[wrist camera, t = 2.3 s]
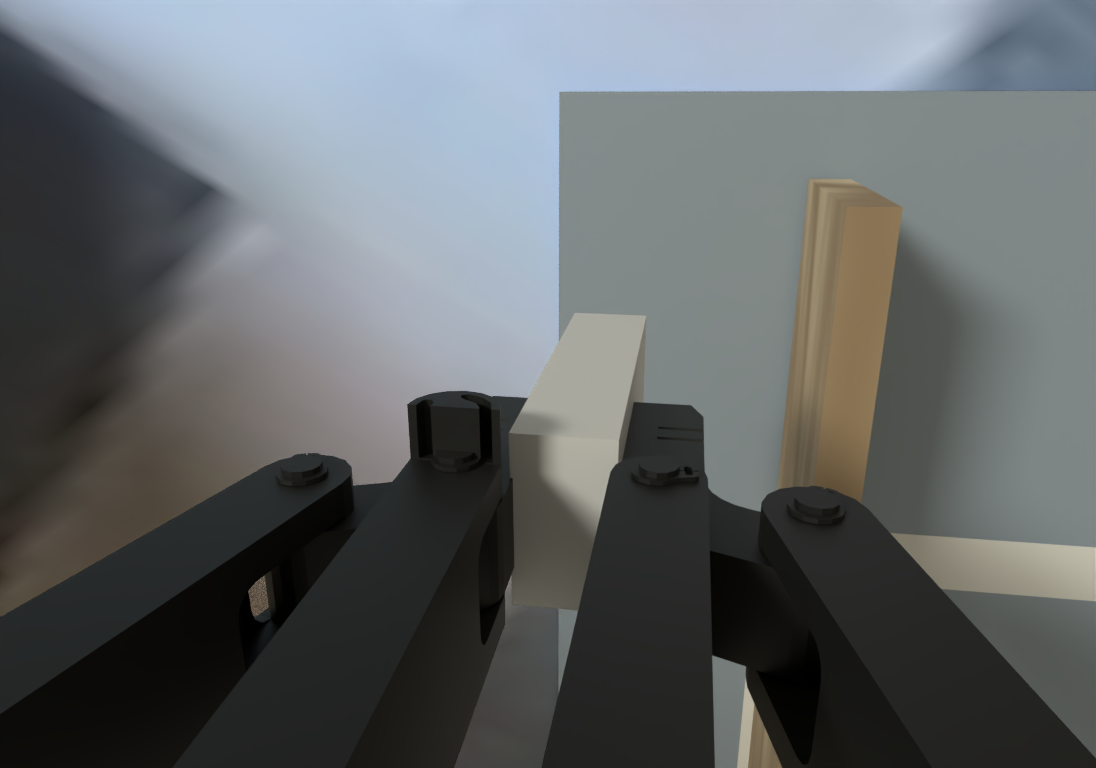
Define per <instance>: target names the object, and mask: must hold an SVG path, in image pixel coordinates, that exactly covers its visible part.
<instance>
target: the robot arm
mask: <svg viewBox="0 0 1096 768" xmlns="http://www.w3.org/2000/svg"><path fill="white" fill-rule="evenodd" d="M645 341H646V316H642V315H618V314H593V313H574V315H573V317H572V319H571V321H570V322H569V324H568V326H567V328H566V330H565V332H564V333H563V335H562V337H561V339H560V341H559V343H558V344H557V346H556V348H555V350H554V352H553V353H552V355H551V357H550V359H549V361H548V363H547V364H546V366H545V368H544V370H543V372H542V373H541V375H540V377H539V379H538V381H537V383H536V384H535V386H534V388H533V390H532V392H531V394H530V395H529V397H528V398H518V397H501V396H493V397H491V396H488V395H485V394H482V393H476V392H469V391H447V392H440V393H433V394H429V395H426V396H423V397H419V398H416V399H415V400H413V401H412V402H410V403H409V404H407V405H408V421H409V437H410V453H411V459H410V460H409V461H408V463H407V464H406V465H405V467H404V468H403V469H402V471H401V472H400V473H399V474H398V476H397V477H396V478H395V480H394V481H393V482H388V483H381V484H368V485H356V486H353V480H352V469H351V466H350V465H349V464H348V463H347V462H346V461H345V460H342V459H339V458H337V457H334V456H325V455H320V454H318V453H308V455H306V454H297V455H294V456H293V457H291V458H287V459H283V460H279V461H277V462H274V463H272V464H270V465H267V466H265V467H263V468H261V469H260V470H258V471H256V472H254V473H253V474H251V475H249V476H247V477H245V478H244V479H242V480H240V481H238V482H237V483H235V484H233V485H231V486H230V487H228V488H226V489H224V490H223V491H221V492H219V493H217V494H216V495H214V496H212V497H210V498H209V499H207V500H205V501H203V502H202V503H200V504H198V505H196V506H195V507H193V508H191V509H189V510H188V511H186V512H184V513H182V514H181V515H179V516H177V517H175V518H174V519H172V520H170V521H168V522H167V523H165V524H163V525H161V526H160V527H158V528H156V529H154V530H153V531H151V532H149V533H147V534H146V535H144V536H142V537H140V538H139V539H137V540H135V541H133V542H131V543H130V544H128V545H126V546H124V547H123V548H121V549H119V550H117V551H116V552H114V553H112V554H110V555H109V556H107V557H105V558H103V559H102V560H100V561H98V562H96V563H95V564H93V565H91V566H89V567H88V568H86V569H84V570H82V571H81V572H79V573H77V574H75V575H74V576H72V577H70V578H68V579H67V580H65V581H63V582H61V583H60V584H58V585H56V586H54V587H53V588H51V589H49V590H47V591H46V592H44V593H42V594H40V595H39V596H37V597H35V598H33V599H32V600H30V601H28V602H26V603H25V604H23V605H21V606H19V607H18V608H16V609H14V610H12V611H10V612H9V613H7V614H5V615H3V616H2V617H0V768H454V766H455V763H456V760H457V757H458V754H459V751H460V749H461V746H462V743H463V740H464V737H465V735H466V732H467V729H468V726H469V723H470V720H471V718H472V715H473V712H474V709H475V706H476V704H477V701H478V698H479V695H480V692H481V690H482V687H483V684H484V681H485V678H486V675H487V673H488V670H489V667H490V664H491V661H492V659H493V656H494V653H495V650H496V647H497V644H498V642H499V639H500V636H501V633H502V630H503V628H504V625H505V590H506V587H507V585H508V582H509V579H510V577H511V574H512V604H515V605H525V606H535V607H545V608H556V609H566V610H576V611H578V613H577V617H576V622H575V626H574V630H573V635H572V639H571V643H570V648H569V652H568V656H567V660H566V665H565V669H564V673H563V678H562V682H561V686H560V691H559V695H558V699H557V703H556V708H555V712H554V716H553V721H552V725H551V729H550V734H549V738H548V742H547V746H546V751H545V755H544V759H543V764H542V768H715V749H714V707H713V665H712V656H715V657H718V658H721V659H724V660H727V661H731V662H734V663H737V664H740V665H743V666H746V673H745V676H746V683H747V688H748V690H749V693H750V695H751V697H752V699H753V702H754V704H755V706H756V709H757V711H758V713H759V715H760V718H761V720H762V722H763V725H764V727H765V729H766V732H767V734H768V736H769V738H770V741H771V743H772V745H773V748H774V750H775V752H776V754H777V757H778V759H779V761H780V764H781V766H782V768H1096V758H1095V757H1094V756H1093V755H1092V753H1091V752H1090V751H1089V750H1088V749H1087V748H1086V747H1085V746H1084V745H1083V744H1082V743H1081V741H1080V740H1079V739H1078V738H1077V737H1076V736H1075V735H1074V734H1073V733H1072V732H1071V730H1070V729H1069V728H1068V727H1067V726H1066V725H1065V724H1064V723H1063V722H1062V721H1061V720H1060V718H1059V717H1058V716H1057V715H1056V714H1055V713H1054V712H1053V711H1052V710H1051V709H1050V707H1049V706H1048V705H1047V704H1046V703H1045V702H1044V701H1043V700H1042V699H1041V698H1040V697H1039V695H1038V694H1037V693H1036V692H1035V691H1034V690H1033V689H1032V688H1031V687H1030V686H1029V684H1028V683H1027V682H1026V681H1025V680H1024V679H1023V678H1022V677H1021V676H1020V675H1019V674H1018V672H1017V671H1016V670H1015V669H1014V668H1013V667H1012V666H1011V665H1010V664H1009V663H1008V661H1007V660H1006V659H1005V658H1004V657H1003V656H1002V655H1001V654H1000V653H999V652H998V651H997V649H996V648H995V647H994V646H993V645H992V644H991V643H990V642H989V641H988V640H987V638H986V637H985V636H984V635H983V634H982V633H981V632H980V631H979V630H978V629H977V628H976V626H975V625H974V624H973V623H972V622H971V621H970V620H969V619H968V618H967V617H966V616H965V614H964V613H963V612H962V611H961V610H960V609H959V608H958V607H957V606H956V605H955V603H954V602H953V601H952V600H951V599H950V598H949V597H948V596H947V595H946V594H945V593H944V591H943V590H942V589H941V588H940V587H939V586H938V585H937V584H936V583H935V582H934V580H933V579H932V578H931V577H930V576H929V575H928V574H927V573H926V572H925V571H924V570H923V568H922V567H921V566H920V565H919V564H918V563H917V562H916V561H915V560H914V559H913V557H912V556H911V555H910V554H909V553H908V552H907V551H906V550H905V549H904V548H903V547H902V545H901V544H900V543H899V542H898V541H897V540H896V539H895V538H894V537H893V536H892V534H891V533H890V532H889V531H888V530H887V529H886V528H885V527H884V526H883V525H882V524H881V522H880V521H879V520H878V519H877V518H876V517H875V516H874V515H873V514H872V513H871V512H870V510H869V509H868V508H866V507H865V506H864V505H862V504H861V503H860V502H858V501H857V500H856V499H854V498H851V497H849V496H846V495H844V494H841V493H839V492H838V491H836V490H833V489H829V488H826V489H823V488H824V487H819V486H809V487H798V486H797V487H790V488H782V489H778V490H776V491H774V492H771V493H769V494H767V495H766V497H765V498H764V500H763V501H762V503H761V512H760V511H756V510H751V509H747V508H744V507H741V506H737V505H734V504H732V503H729V502H727V501H725V500H723V499H721V498H719V497H718V496H717V495H715V494H714V493H712V492H711V490H710V489H709V488H708V478H707V476H706V473H705V464H704V418H703V416H702V415H701V414H700V413H699V412H698V411H697V410H696V409H695V408H694V407H692V406H691V405H678V404H661V403H643V392H644V367H645ZM264 575H265V581H266V589H267V596H268V604H269V608H267V609H266V610H265V611H264V612H262V613H261V614H260V615H258V616H256V617H254V616H253V614H252V612H251V606H250V599H249V592H248V590H249V589H250V588H251V587H252V586H253V584H254V583H255V582H256V581H257V580H259V579H260V578H261V577H263V576H264Z"/></svg>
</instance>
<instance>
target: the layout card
mask: <svg viewBox="0 0 1096 768" xmlns="http://www.w3.org/2000/svg"><path fill="white" fill-rule="evenodd" d="M809 179H852V180H854V181H856V182H857V183H859V184H861V185H863V186H865V187H867V188H868V189H870V190H872V191H874V192H876V193H877V194H879V195H881V196H883V197H885V198H887V199H888V200H890V201H892V202H894V203H896V204H898V205H899V206H901V207H903V210H902V217H901V224H900V231H899V238H898V245H897V252H896V259H895V267H894V274H893V281H892V288H891V295H890V302H889V309H888V316H887V323H886V330H885V337H884V345H883V352H882V359H881V366H880V373H879V380H878V387H877V394H876V401H875V408H874V416H873V423H872V430H871V437H870V444H869V451H868V458H867V465H866V472H865V479H864V486H863V494H862V501H861V504H862V505H864V506H865V507H866V508H868V509H869V510H870V512H871V513H872V514H873V515H874V516H875V517H876V518H877V519H878V520H879V521H880V522H881V524H882V525H883V526H884V527H885V528H886V529H887V530H888V531H889V532H890V533H891V534H892V536H893V537H894V538H895V539H896V540H897V541H898V542H899V543H900V544H901V545H902V547H903V548H904V549H905V550H906V551H907V552H908V553H909V554H910V555H911V556H912V557H913V559H914V560H915V561H916V562H917V563H918V564H919V565H920V566H921V567H922V568H923V570H924V571H925V572H926V573H927V574H928V575H929V576H930V577H931V578H932V579H933V580H934V582H935V583H936V584H937V585H938V586H939V587H940V588H941V589H942V590H943V591H944V593H945V594H946V595H947V596H948V597H949V598H950V599H951V600H952V601H953V602H954V603H955V605H956V606H957V607H958V608H959V609H960V610H961V611H962V612H963V613H964V614H965V616H966V617H967V618H968V619H969V620H970V621H971V622H972V623H973V624H974V625H975V626H976V628H977V629H978V630H979V631H980V632H981V633H982V634H983V635H984V636H985V637H986V638H987V640H988V641H989V642H990V643H991V644H992V645H993V646H994V647H995V648H996V649H997V651H998V652H999V653H1000V654H1001V655H1002V656H1003V657H1004V658H1005V659H1006V660H1007V661H1008V663H1009V664H1010V665H1011V666H1012V667H1013V668H1014V669H1015V670H1016V671H1017V672H1018V674H1019V675H1020V676H1021V677H1022V678H1023V679H1024V680H1025V681H1026V682H1027V683H1028V684H1029V686H1030V687H1031V688H1032V689H1033V690H1034V691H1035V692H1036V693H1037V694H1038V695H1039V697H1040V698H1041V699H1042V700H1043V701H1044V702H1045V703H1046V704H1047V705H1048V706H1049V707H1050V709H1051V710H1052V711H1053V712H1054V713H1055V714H1056V715H1057V716H1058V717H1059V718H1060V720H1061V721H1062V722H1063V723H1064V724H1065V725H1066V726H1067V727H1068V728H1069V729H1070V730H1071V732H1072V733H1073V734H1074V735H1075V736H1076V737H1077V738H1078V739H1079V740H1080V741H1081V743H1082V744H1083V745H1084V746H1085V747H1086V748H1087V749H1088V750H1089V751H1090V752H1091V753H1092V755H1093V756H1094V757H1095V758H1096V91H798V92H560V120H559V341H560V339H561V337H562V335H563V333H564V332H565V330H566V328H567V326H568V324H569V322H570V321H571V319H572V317H573V315H574V313H593V314H618V315H642V316H646V341H645V367H644V392H643V403H661V404H678V405H691V406H692V407H694V408H695V409H696V410H697V411H698V412H699V413H700V414H701V415H702V416H703V418H704V464H705V473H706V476H707V478H708V488H709V489H710V490H711V492H712V493H714V494H715V495H717V496H718V497H719V498H721V499H723V500H725V501H727V502H729V503H732V504H734V505H737V506H741V507H744V508H747V509H751V510H756V511H760V512H761V503H762V501H763V500H764V498H765V497H766V495H767V494H769V493H771V492H774V491H776V490H777V487H778V477H779V467H780V457H781V447H782V437H783V428H784V418H785V408H786V398H787V388H788V378H789V369H790V359H791V349H792V339H793V329H794V319H795V310H796V300H797V290H798V280H799V270H800V260H801V251H802V241H803V231H804V221H805V211H806V201H807V192H808V182H809ZM577 613H578V611H576V610H566V609H559V650H558V695H559V691H560V686H561V682H562V678H563V673H564V669H565V665H566V660H567V656H568V652H569V648H570V643H571V639H572V635H573V630H574V626H575V622H576V617H577ZM712 665H713V707H714V749H715V768H748V761H749V751H750V741H751V731H752V721H753V711H754V702H753V699H752V697H751V695H750V693H749V690H748V688H747V683H746V676H745V673H746V666H743V665H740V664H737V663H734V662H731V661H727V660H724V659H721V658H718V657H715V656H712Z"/></svg>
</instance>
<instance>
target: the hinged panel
mask: <svg viewBox="0 0 1096 768" xmlns="http://www.w3.org/2000/svg"><path fill="white" fill-rule="evenodd" d="M902 210H903V207H901V206H899V205H898V204H896V203H894V202H892V201H890V200H888V199H887V198H885V197H883V196H881V195H879V194H877V193H876V192H874V191H872V190H870V189H868V188H867V187H865V186H863V185H861V184H859V183H857V182H856V181H854V180H852V179H809V182H808V192H807V201H806V211H805V221H804V231H803V241H802V251H801V260H800V270H799V280H798V290H797V300H796V310H795V319H794V329H793V339H792V349H791V359H790V369H789V378H788V388H787V398H786V408H785V418H784V428H783V437H782V447H781V457H780V467H779V477H778V487H777V490H778V489H782V488H790V487H797V486H798V487H809V486H819V487H824V488H823V489H826V488H829V489H833V490H836V491H838V492H839V493H841V494H844V495H846V496H849V497H851V498H854V499H856V500H857V501H858V502H860V503H861V501H862V494H863V486H864V479H865V472H866V465H867V458H868V451H869V444H870V437H871V430H872V423H873V416H874V408H875V401H876V394H877V387H878V380H879V373H880V366H881V359H882V352H883V345H884V337H885V330H886V323H887V316H888V309H889V302H890V295H891V288H892V281H893V274H894V267H895V259H896V252H897V245H898V238H899V231H900V224H901V217H902Z"/></svg>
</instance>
